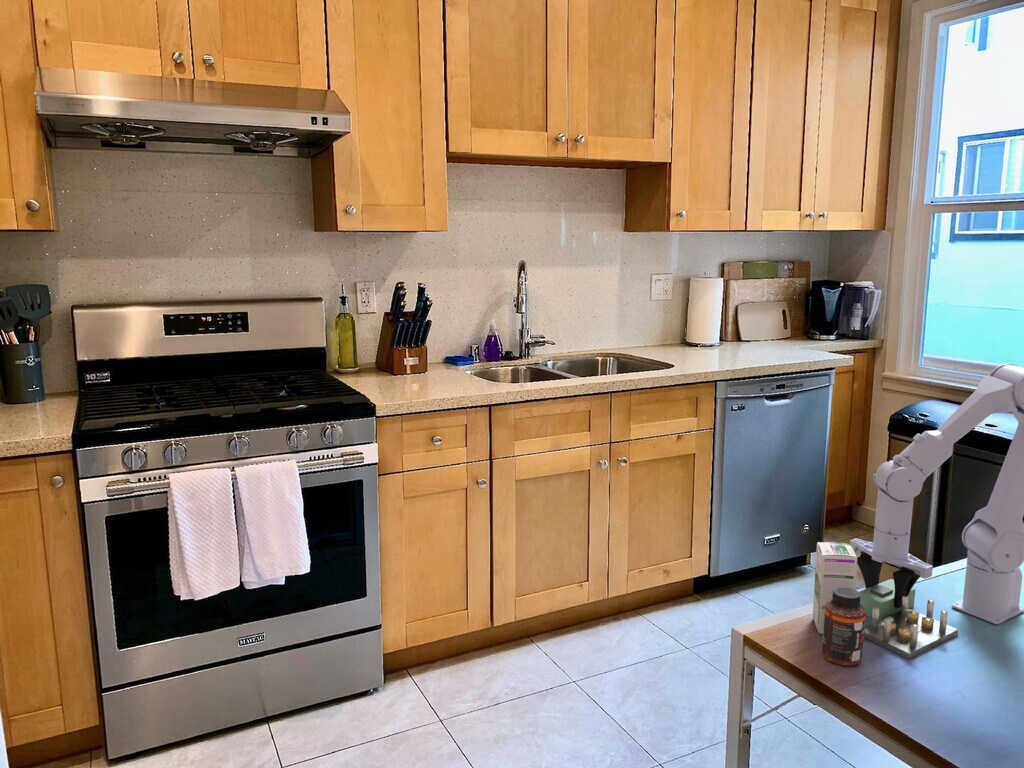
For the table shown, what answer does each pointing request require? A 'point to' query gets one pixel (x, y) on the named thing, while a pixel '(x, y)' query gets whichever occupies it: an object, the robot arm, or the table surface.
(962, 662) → the table surface
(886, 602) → the green rectangular block
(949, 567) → the table surface
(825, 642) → the supplement bottle
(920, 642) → the chassis
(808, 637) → the table surface
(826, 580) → the syrup box
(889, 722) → the table surface
